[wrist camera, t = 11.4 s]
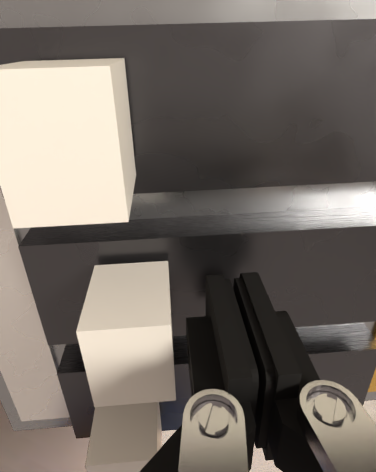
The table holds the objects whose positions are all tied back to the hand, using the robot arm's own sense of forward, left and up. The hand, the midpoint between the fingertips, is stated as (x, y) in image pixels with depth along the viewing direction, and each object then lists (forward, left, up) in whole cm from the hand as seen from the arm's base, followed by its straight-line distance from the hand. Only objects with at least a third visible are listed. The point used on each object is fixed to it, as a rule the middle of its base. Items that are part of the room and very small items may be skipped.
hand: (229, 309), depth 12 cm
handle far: (+4, +6, -1) cm, 7 cm away
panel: (0, 0, -4) cm, 4 cm away
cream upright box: (+4, -6, -1) cm, 7 cm away
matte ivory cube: (+3, 0, -1) cm, 3 cm away
